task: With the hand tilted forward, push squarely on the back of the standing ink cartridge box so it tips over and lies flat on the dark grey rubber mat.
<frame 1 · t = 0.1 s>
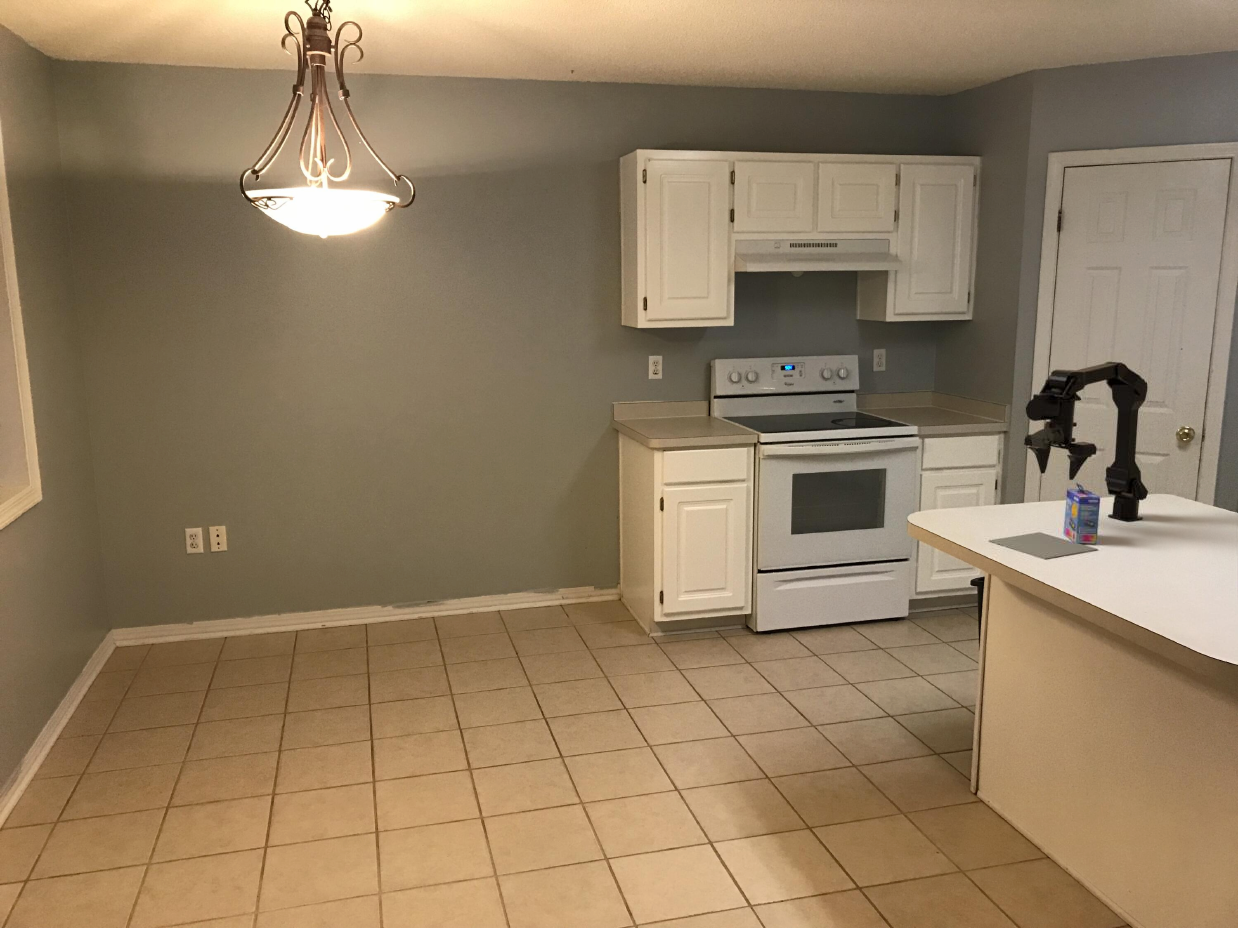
hand: (1056, 476, 261), 15 cm above the table, tool pointing down, fingers open, 9 cm apart
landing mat: (1042, 545, 249), on the table
ink cartridge box: (1078, 539, 254), on the table, touching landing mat
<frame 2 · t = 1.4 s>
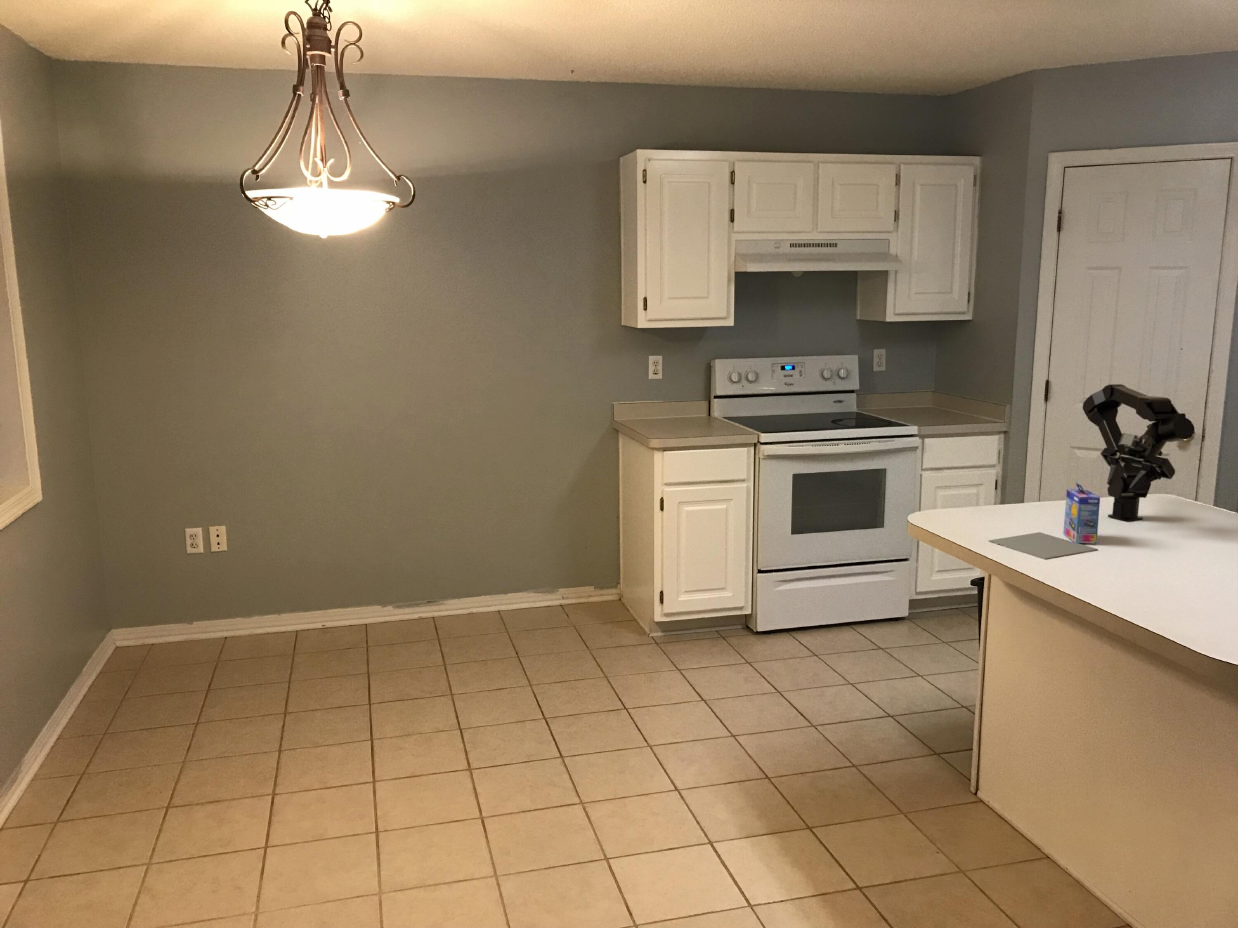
hand: (1119, 486, 258), 13 cm above the table, tool tilted 45°, fingers open, 6 cm apart
nothing on the table moved.
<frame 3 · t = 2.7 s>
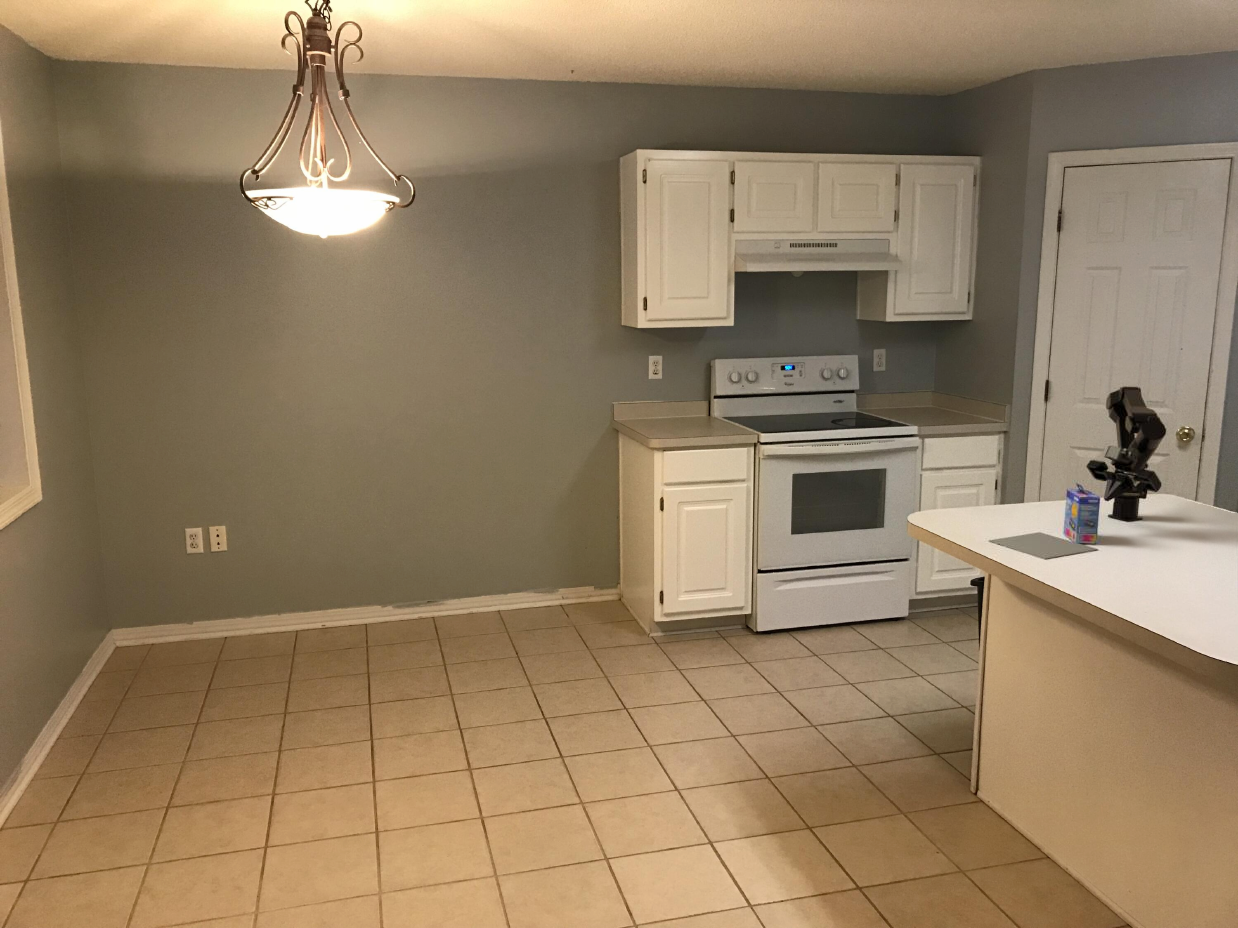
hand: (1105, 500, 255), 10 cm above the table, tool tilted 45°, fingers closed
nothing on the table moved.
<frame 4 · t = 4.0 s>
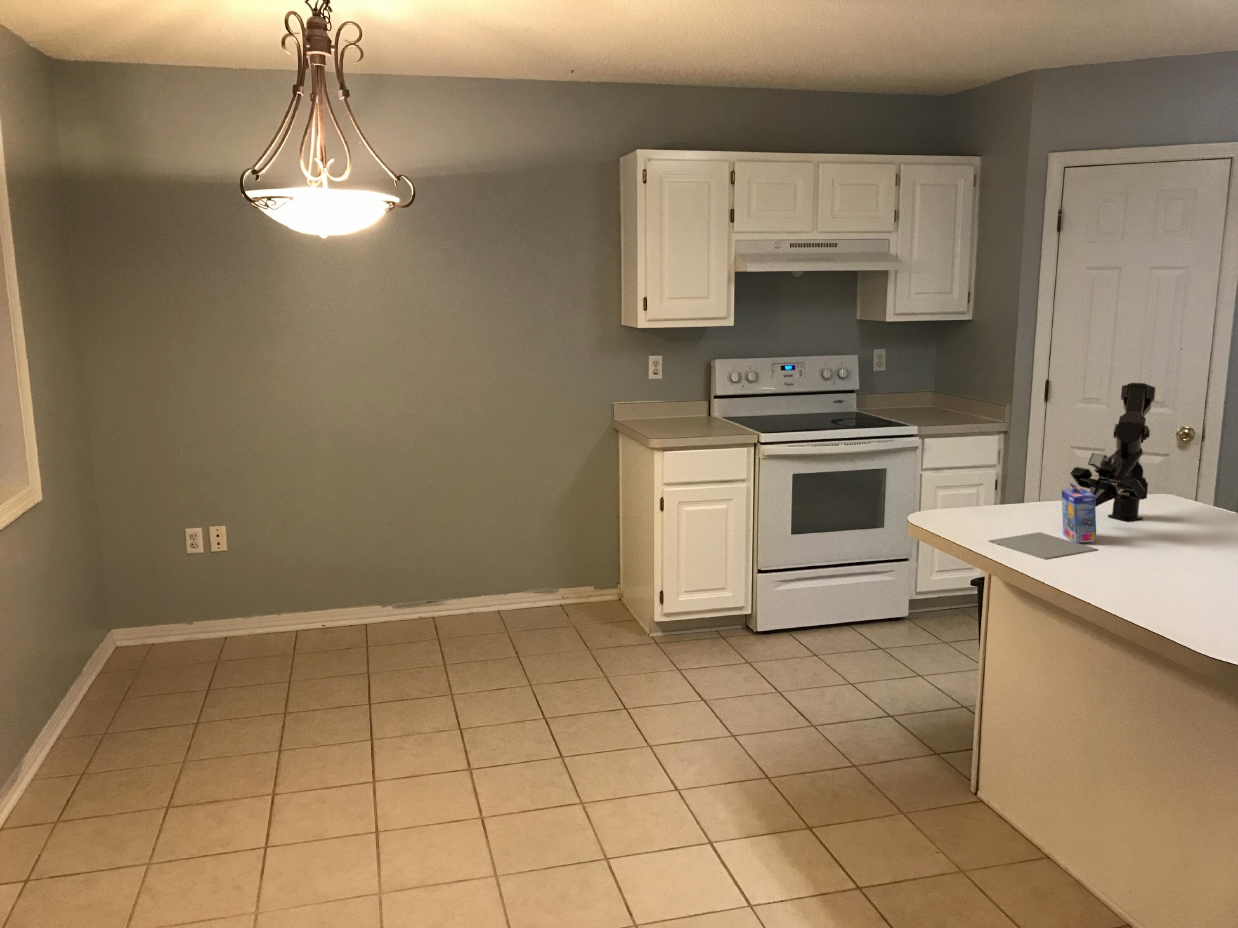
hand: (1088, 507, 254), 8 cm above the table, tool tilted 45°, fingers closed
ink cartridge box: (1078, 538, 254), on the table, touching gripper, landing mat
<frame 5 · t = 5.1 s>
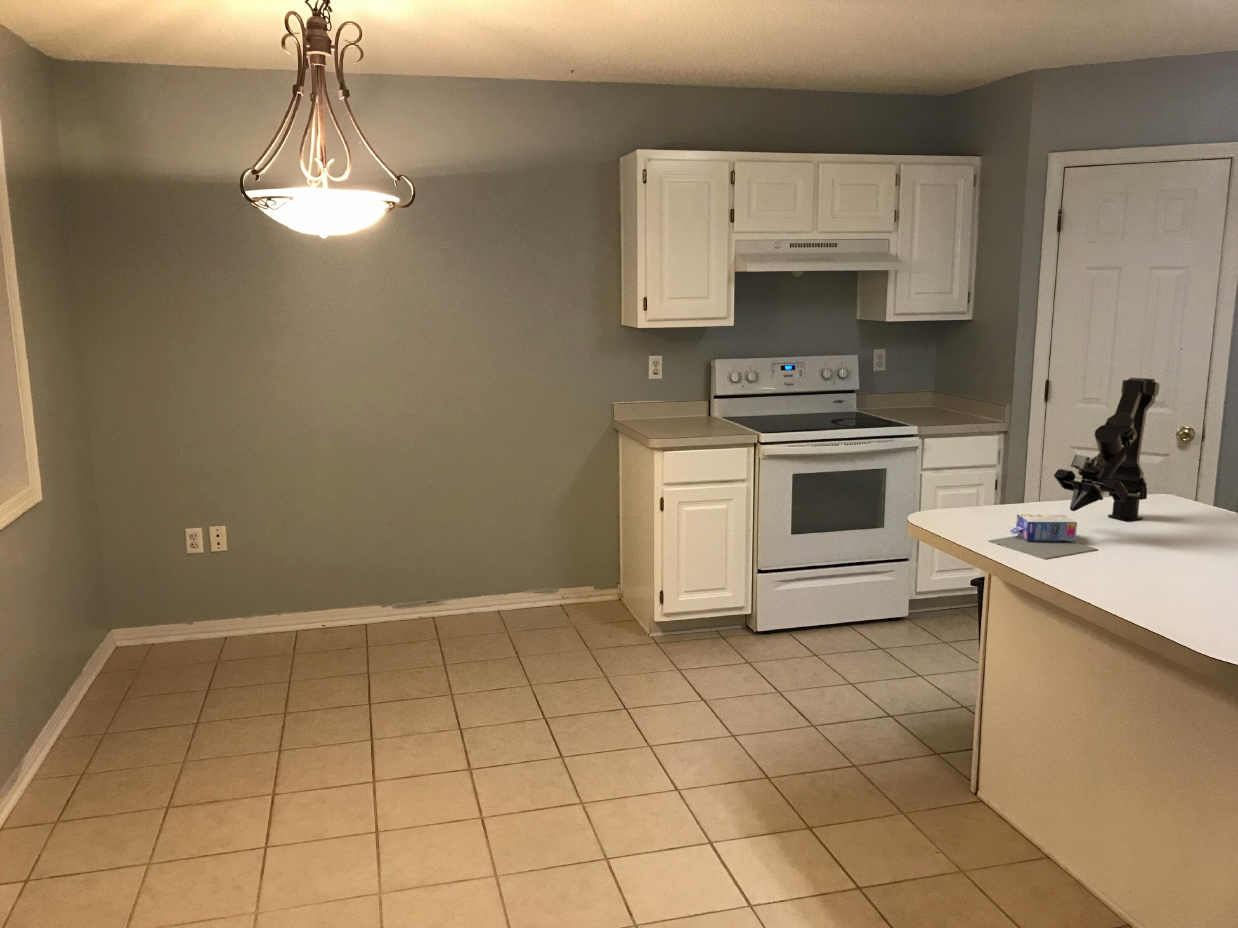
hand: (1071, 509, 251), 8 cm above the table, tool tilted 45°, fingers closed
ink cartridge box: (1071, 528, 254), point 3 cm above the table, touching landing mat
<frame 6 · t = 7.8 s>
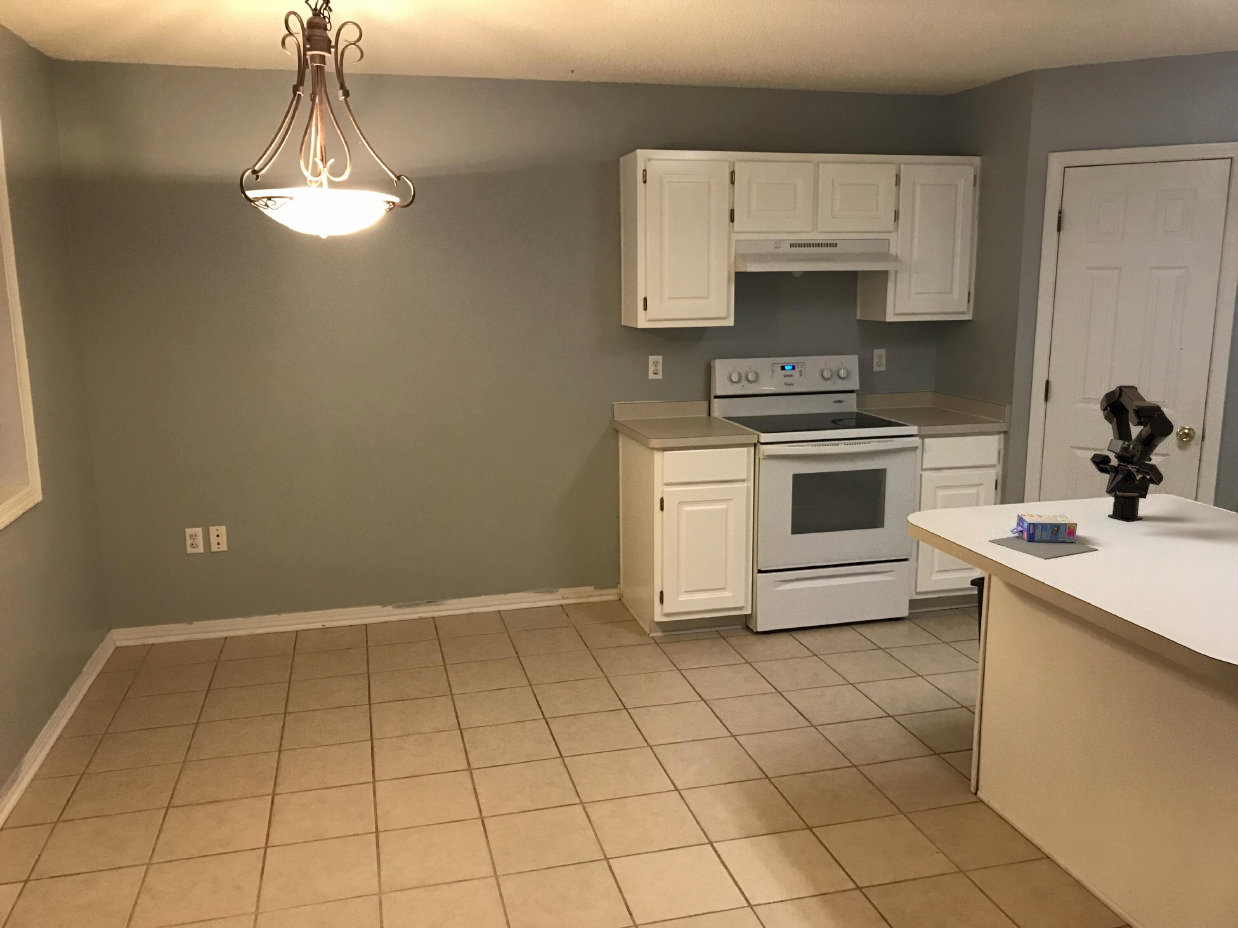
hand: (1107, 493, 257), 11 cm above the table, tool tilted 45°, fingers closed
nothing on the table moved.
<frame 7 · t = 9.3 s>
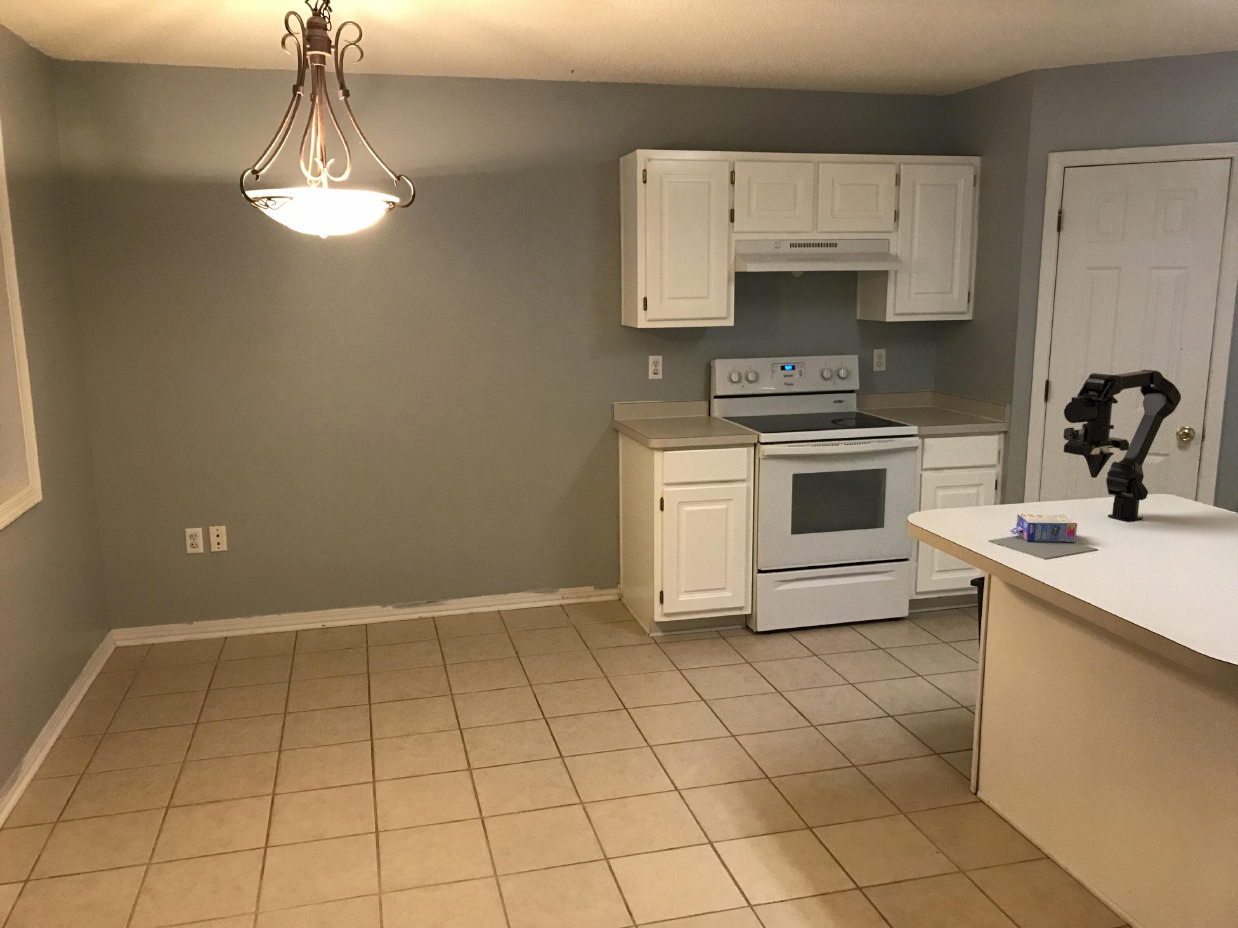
hand: (1093, 477, 267), 13 cm above the table, tool pointing down, fingers closed
nothing on the table moved.
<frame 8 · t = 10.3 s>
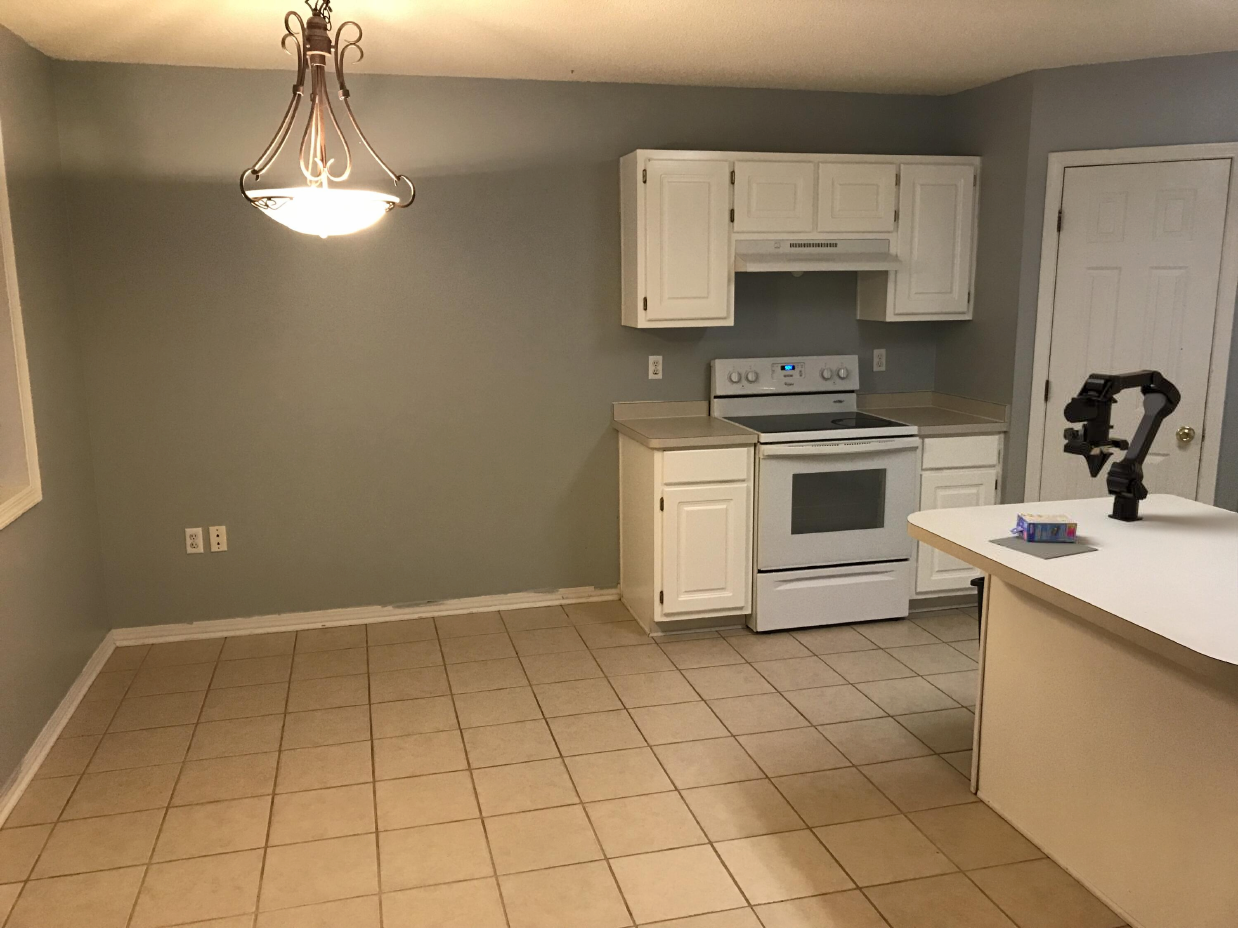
hand: (1093, 477, 267), 13 cm above the table, tool pointing down, fingers closed
nothing on the table moved.
at the end: ink cartridge box tilted 89°; ink cartridge box touching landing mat; the gripper is holding nothing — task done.
